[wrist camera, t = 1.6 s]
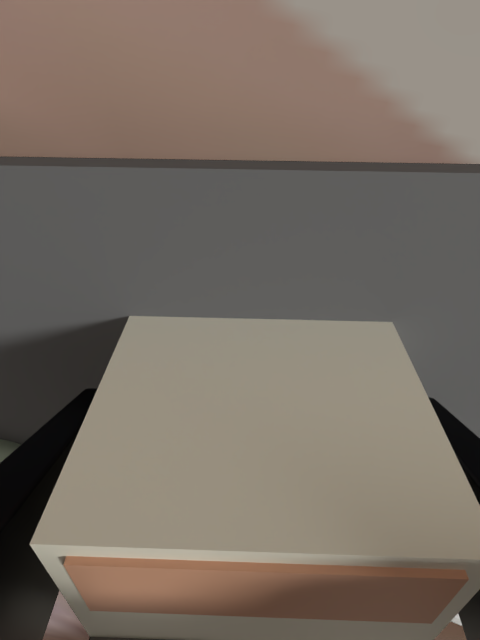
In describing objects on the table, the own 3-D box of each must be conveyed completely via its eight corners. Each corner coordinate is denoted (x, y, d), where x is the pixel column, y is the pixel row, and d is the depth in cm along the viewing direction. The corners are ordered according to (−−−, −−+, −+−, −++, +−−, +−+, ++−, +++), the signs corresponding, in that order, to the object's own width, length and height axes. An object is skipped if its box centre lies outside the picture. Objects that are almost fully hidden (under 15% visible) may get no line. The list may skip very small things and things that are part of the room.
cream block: (359, 433, 11) (419, 665, 7) (151, 428, 11) (93, 651, 7) (392, 321, 9) (510, 570, 5) (129, 315, 9) (25, 553, 5)
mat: (429, 565, 17) (437, 591, 17) (-40, 549, 18) (-53, 573, 17) (693, 167, 7) (747, 184, 7) (-394, 150, 8) (-468, 164, 7)
